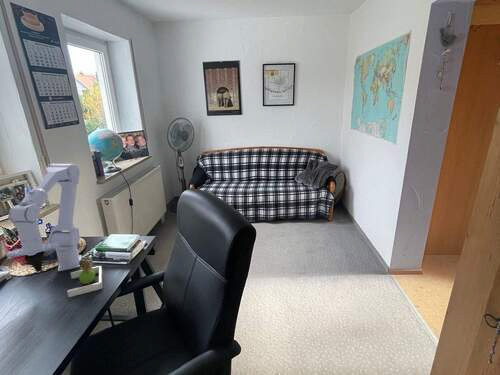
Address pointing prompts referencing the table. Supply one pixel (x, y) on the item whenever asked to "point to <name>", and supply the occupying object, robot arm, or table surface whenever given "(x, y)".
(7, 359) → the table surface
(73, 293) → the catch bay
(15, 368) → the table surface
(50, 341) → the table surface
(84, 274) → the snail figurine
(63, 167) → the robot arm
